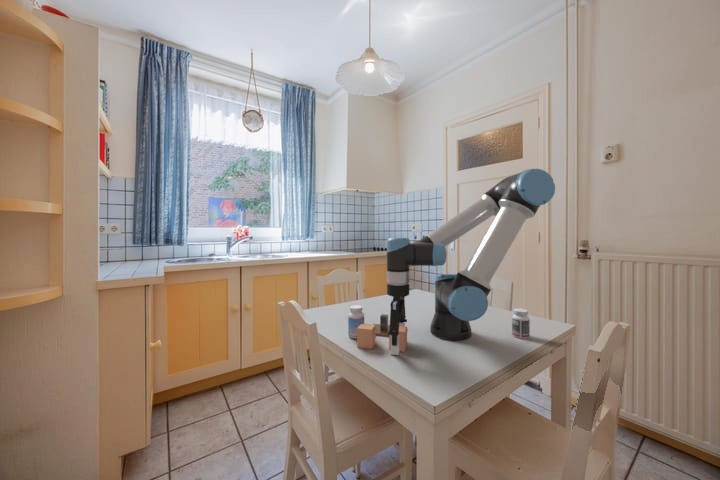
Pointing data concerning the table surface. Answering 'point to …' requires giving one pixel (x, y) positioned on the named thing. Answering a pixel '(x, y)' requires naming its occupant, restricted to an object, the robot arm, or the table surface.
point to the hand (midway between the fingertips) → (398, 347)
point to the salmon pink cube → (401, 339)
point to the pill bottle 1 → (355, 320)
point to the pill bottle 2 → (520, 324)
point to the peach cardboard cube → (366, 336)
